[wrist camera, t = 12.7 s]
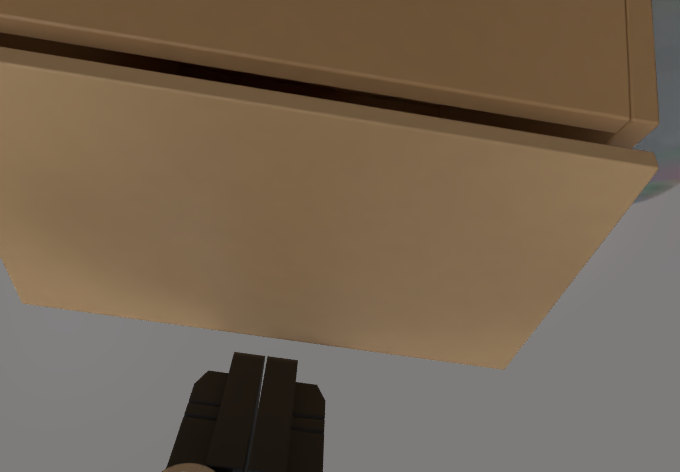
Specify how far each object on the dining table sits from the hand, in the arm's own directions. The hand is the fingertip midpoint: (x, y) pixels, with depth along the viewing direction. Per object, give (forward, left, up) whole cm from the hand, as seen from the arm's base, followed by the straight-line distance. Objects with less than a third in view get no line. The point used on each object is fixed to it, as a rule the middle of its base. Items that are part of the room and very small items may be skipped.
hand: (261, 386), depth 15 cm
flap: (0, +3, -3) cm, 4 cm away
